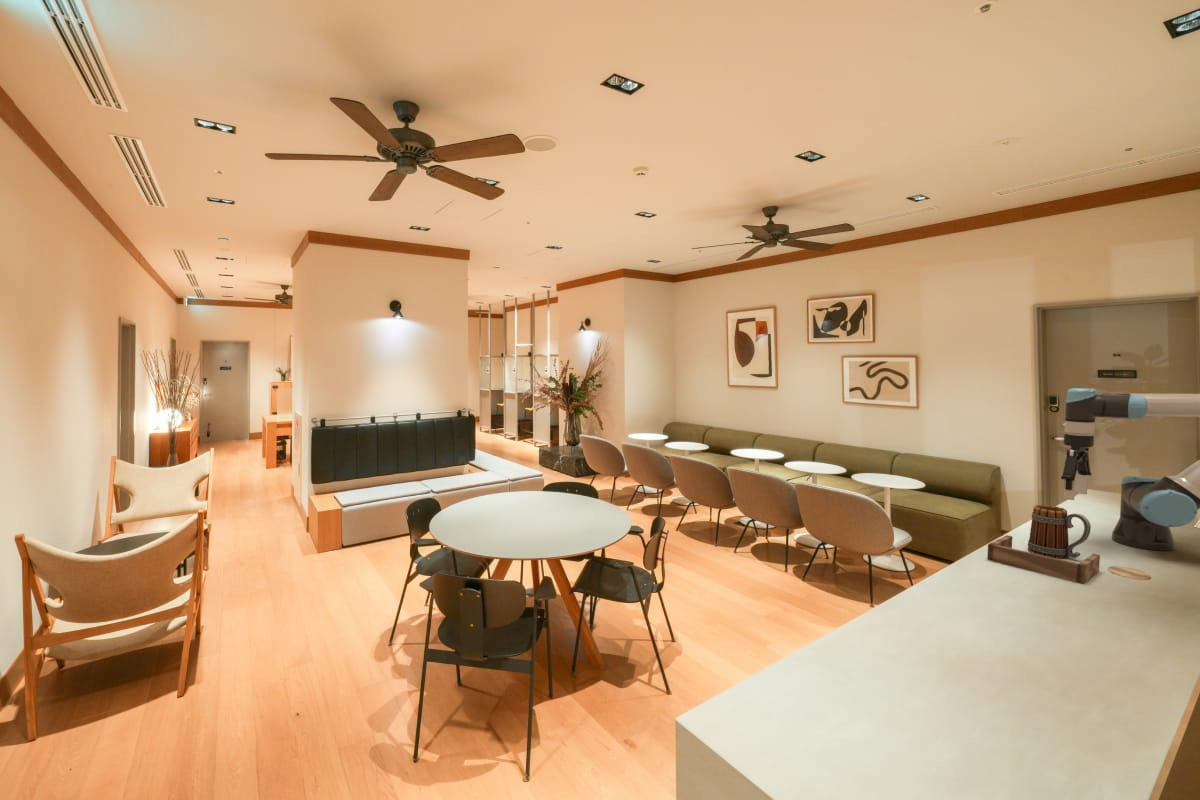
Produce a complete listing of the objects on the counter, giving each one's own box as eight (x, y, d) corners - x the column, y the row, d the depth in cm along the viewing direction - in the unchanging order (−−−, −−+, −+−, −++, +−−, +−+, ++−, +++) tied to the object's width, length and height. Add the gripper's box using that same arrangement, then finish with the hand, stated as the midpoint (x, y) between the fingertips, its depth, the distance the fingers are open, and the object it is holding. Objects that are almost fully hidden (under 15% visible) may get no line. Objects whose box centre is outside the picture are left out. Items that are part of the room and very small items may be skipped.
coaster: (1112, 566, 163) (1112, 564, 163) (1154, 576, 155) (1154, 573, 155) (1103, 573, 157) (1104, 570, 157) (1146, 583, 150) (1147, 580, 150)
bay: (1006, 549, 177) (1006, 535, 177) (1099, 571, 158) (1099, 554, 158) (987, 559, 168) (988, 544, 168) (1083, 583, 149) (1084, 566, 149)
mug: (1020, 550, 176) (1022, 506, 175) (1038, 546, 181) (1040, 502, 180) (1078, 566, 162) (1081, 518, 161) (1096, 561, 167) (1098, 513, 166)
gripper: (1075, 430, 189) (1072, 489, 190) (1052, 435, 175) (1048, 499, 176) (1104, 432, 183) (1100, 493, 184) (1082, 438, 169) (1078, 504, 170)
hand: (1075, 496), depth 180 cm, fingers open, 13 cm apart
